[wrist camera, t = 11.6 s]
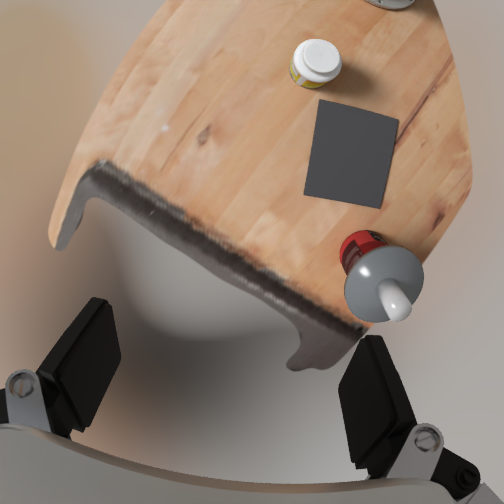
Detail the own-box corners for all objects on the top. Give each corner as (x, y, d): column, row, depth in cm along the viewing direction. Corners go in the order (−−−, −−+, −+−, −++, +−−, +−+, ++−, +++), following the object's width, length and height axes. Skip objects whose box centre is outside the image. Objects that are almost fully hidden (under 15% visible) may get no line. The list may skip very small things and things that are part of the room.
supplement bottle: (336, 71, 34) (357, 58, 25) (310, 96, 36) (325, 90, 27) (306, 45, 33) (318, 24, 24) (280, 70, 35) (284, 55, 26)
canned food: (389, 259, 46) (415, 295, 36) (347, 279, 48) (364, 319, 38) (376, 220, 43) (404, 250, 34) (331, 241, 45) (348, 276, 35)
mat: (319, 99, 36) (319, 99, 36) (396, 119, 37) (398, 119, 36) (303, 194, 42) (303, 195, 42) (378, 207, 43) (379, 208, 42)
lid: (358, 238, 33) (374, 261, 28) (431, 252, 33) (454, 274, 28) (333, 314, 38) (342, 345, 32) (402, 320, 38) (417, 347, 33)
